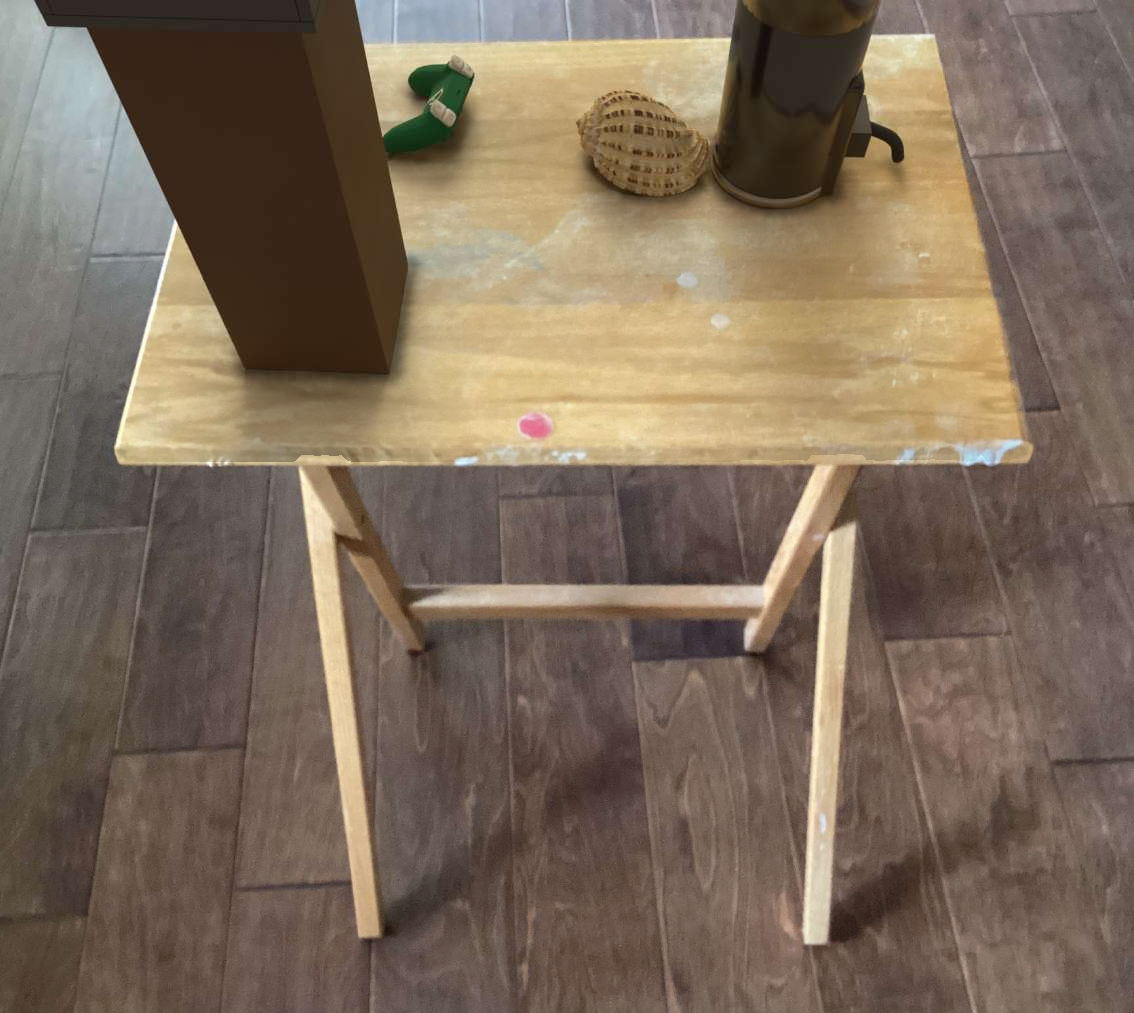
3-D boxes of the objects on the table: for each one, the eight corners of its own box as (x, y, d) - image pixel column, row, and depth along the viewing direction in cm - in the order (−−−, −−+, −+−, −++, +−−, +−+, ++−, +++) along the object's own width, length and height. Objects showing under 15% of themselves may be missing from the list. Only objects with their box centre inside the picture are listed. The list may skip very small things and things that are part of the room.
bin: (425, 254, 72) (336, -245, 45) (403, 387, 66) (285, -96, 39) (261, 248, 73) (73, -250, 45) (224, 381, 66) (-19, -103, 39)
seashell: (668, 154, 82) (560, 123, 77) (706, 95, 77) (593, 58, 73) (689, 220, 78) (576, 192, 73) (730, 162, 73) (613, 127, 69)
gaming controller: (412, 179, 79) (458, 143, 75) (374, 147, 77) (420, 108, 72) (442, 104, 83) (487, 67, 79) (407, 72, 81) (452, 32, 77)
